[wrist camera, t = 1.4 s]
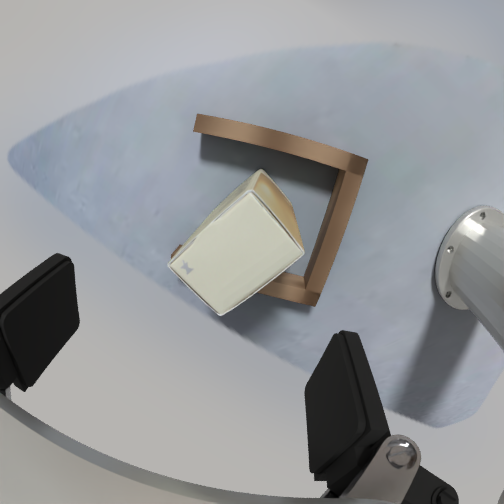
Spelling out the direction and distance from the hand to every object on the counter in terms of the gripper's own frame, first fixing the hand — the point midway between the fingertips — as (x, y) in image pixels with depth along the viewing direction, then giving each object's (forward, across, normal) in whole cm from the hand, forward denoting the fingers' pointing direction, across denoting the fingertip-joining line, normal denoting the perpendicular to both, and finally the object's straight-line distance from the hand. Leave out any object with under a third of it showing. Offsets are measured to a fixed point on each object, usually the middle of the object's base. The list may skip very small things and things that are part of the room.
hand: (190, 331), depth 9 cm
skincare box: (+18, -1, 0) cm, 18 cm away
